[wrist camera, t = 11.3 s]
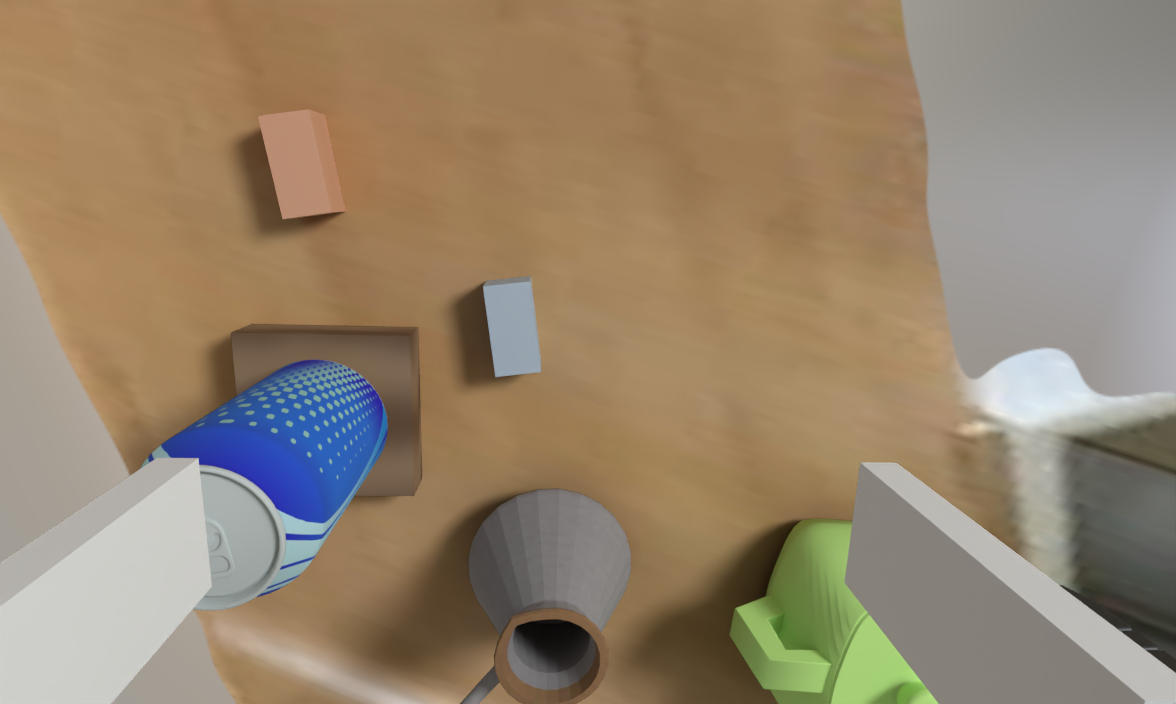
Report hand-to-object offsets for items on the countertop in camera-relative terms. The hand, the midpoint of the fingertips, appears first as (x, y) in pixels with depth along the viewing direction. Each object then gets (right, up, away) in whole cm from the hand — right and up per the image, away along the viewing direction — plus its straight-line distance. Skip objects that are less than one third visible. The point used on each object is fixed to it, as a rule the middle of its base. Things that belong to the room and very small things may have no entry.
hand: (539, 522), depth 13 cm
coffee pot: (-6, -14, +37) cm, 40 cm away
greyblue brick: (-4, +6, +32) cm, 33 cm away
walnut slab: (-16, 0, +33) cm, 36 cm away
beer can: (-16, -1, +30) cm, 34 cm away
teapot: (+20, -17, +39) cm, 47 cm away
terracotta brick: (-17, +15, +29) cm, 37 cm away
